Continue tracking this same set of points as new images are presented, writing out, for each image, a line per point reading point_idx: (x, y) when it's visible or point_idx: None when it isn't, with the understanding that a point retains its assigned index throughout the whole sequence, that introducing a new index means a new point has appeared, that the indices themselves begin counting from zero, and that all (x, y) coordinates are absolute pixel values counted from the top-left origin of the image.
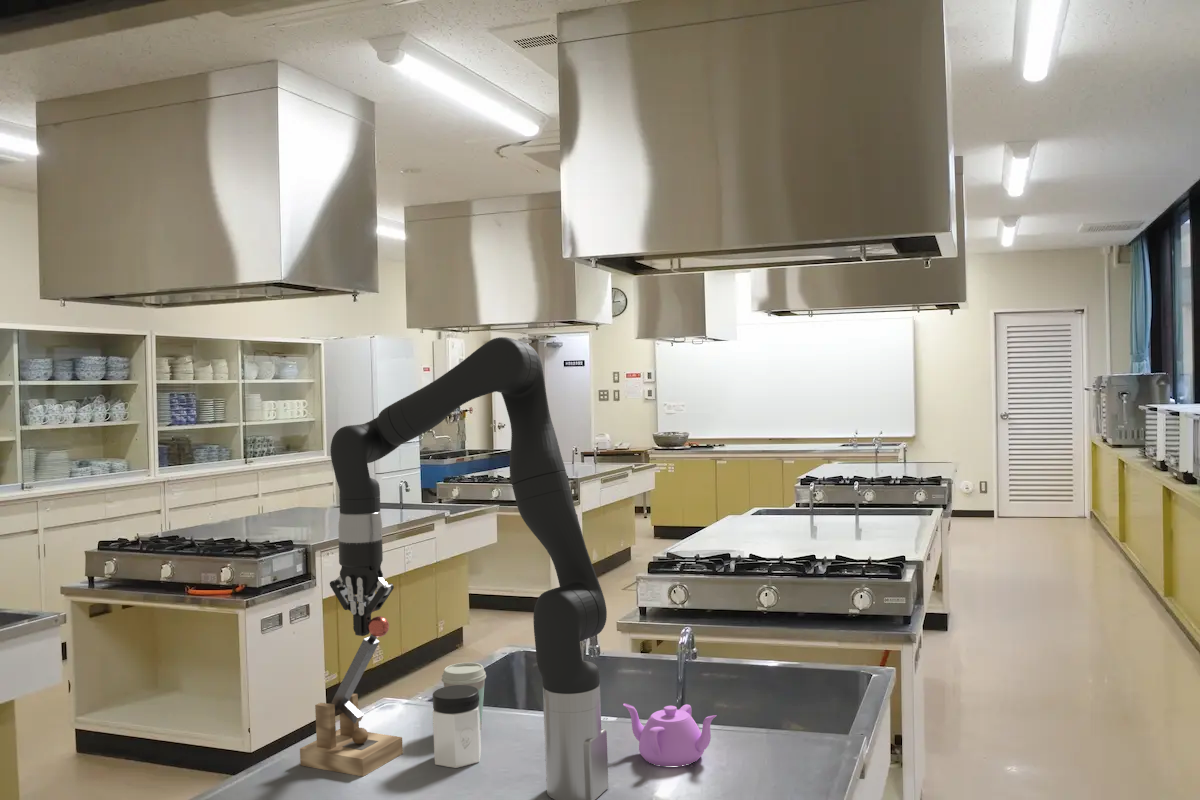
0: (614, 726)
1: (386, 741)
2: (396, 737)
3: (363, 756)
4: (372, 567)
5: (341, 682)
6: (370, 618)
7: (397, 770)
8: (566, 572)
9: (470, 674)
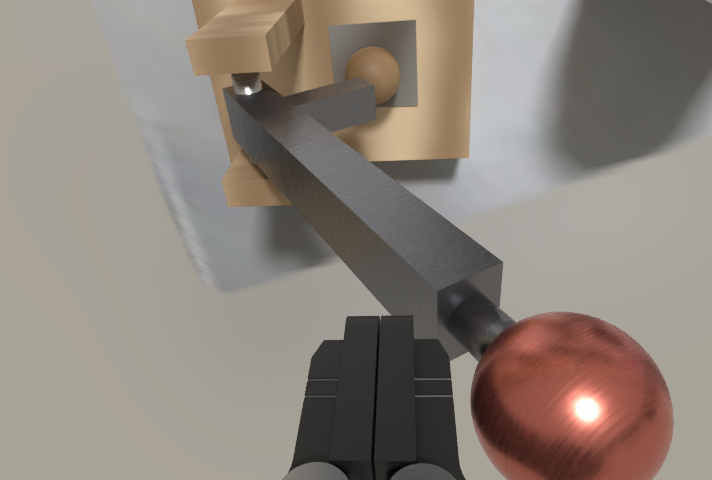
0: None
1: (445, 5)
2: None
3: (457, 141)
4: None
5: (286, 197)
6: (454, 438)
7: (538, 60)
8: None
9: None
